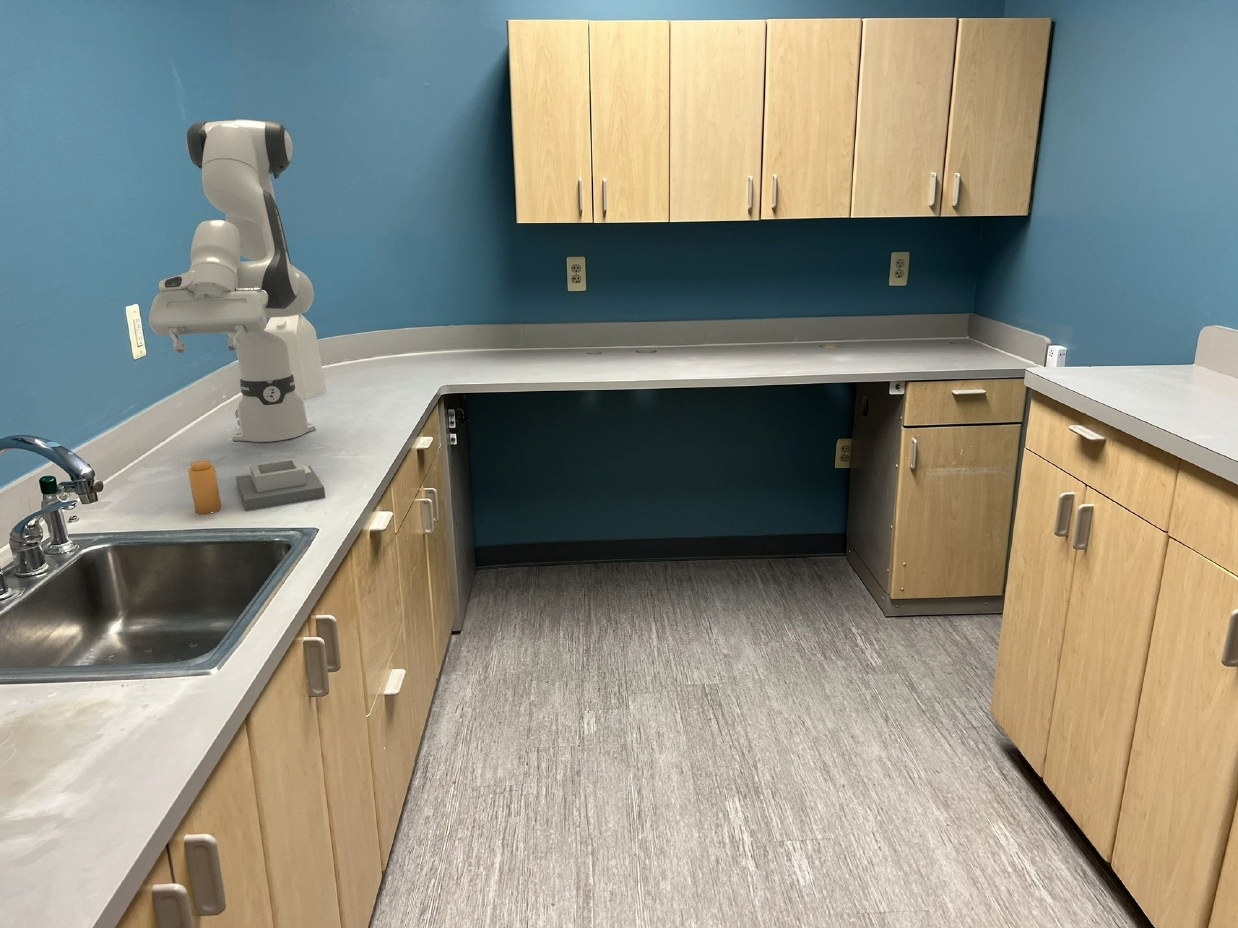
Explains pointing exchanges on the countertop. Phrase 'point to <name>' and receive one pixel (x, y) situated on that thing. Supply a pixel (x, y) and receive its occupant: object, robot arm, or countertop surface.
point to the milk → (301, 353)
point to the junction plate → (278, 484)
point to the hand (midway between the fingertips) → (205, 349)
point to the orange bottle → (204, 487)
